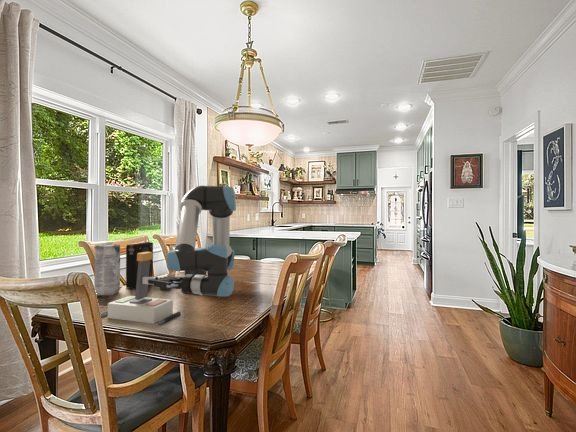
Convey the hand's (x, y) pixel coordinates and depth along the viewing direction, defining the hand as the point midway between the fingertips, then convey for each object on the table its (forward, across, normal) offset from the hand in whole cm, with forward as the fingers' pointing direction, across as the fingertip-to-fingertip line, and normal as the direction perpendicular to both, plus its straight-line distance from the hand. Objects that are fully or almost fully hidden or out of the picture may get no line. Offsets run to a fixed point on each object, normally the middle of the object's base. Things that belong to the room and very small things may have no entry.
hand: (143, 280), depth 129 cm
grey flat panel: (+2, +1, -15) cm, 15 cm away
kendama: (+19, +46, -16) cm, 53 cm away
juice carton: (+43, +25, -15) cm, 52 cm away
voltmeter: (+39, +45, -15) cm, 61 cm away
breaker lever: (+2, +1, -8) cm, 8 cm away
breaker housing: (+2, +1, -15) cm, 15 cm away
